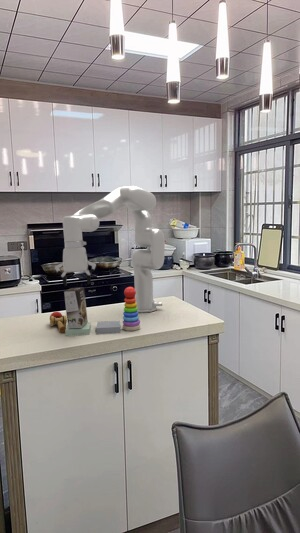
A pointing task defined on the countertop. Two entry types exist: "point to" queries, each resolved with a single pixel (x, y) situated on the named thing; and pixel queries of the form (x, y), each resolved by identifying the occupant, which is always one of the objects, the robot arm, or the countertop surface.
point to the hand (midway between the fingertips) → (77, 284)
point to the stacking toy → (130, 311)
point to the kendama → (58, 321)
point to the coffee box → (75, 307)
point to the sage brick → (79, 330)
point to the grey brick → (108, 327)
